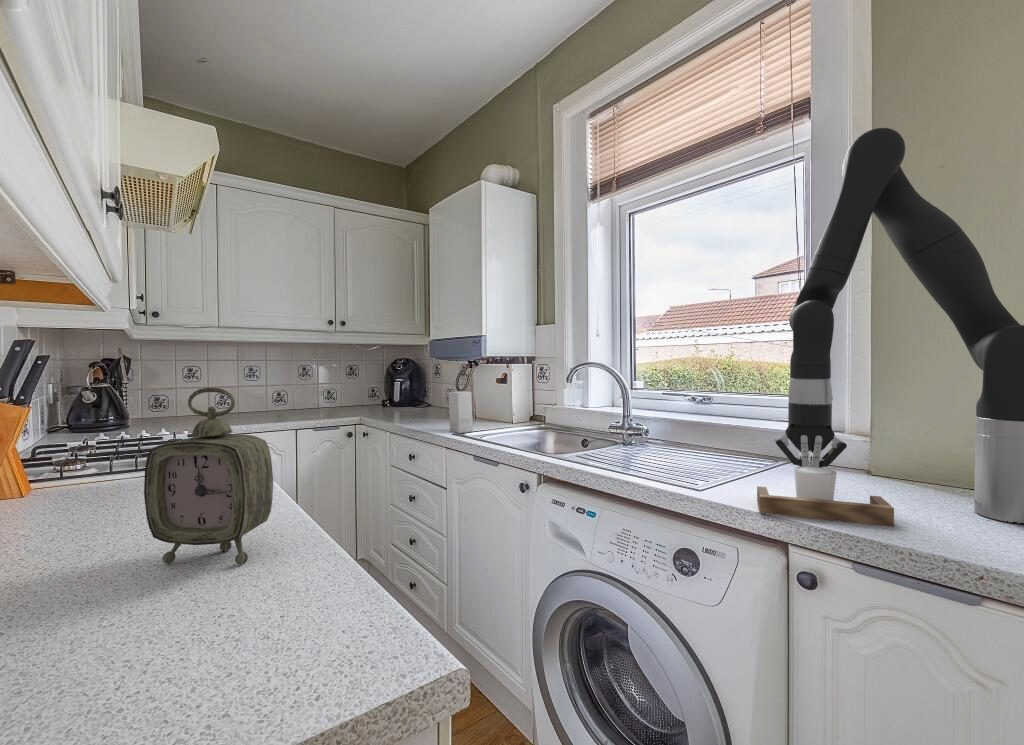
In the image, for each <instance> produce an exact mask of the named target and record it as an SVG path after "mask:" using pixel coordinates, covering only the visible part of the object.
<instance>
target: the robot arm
mask: <svg viewBox="0 0 1024 745" xmlns="http://www.w3.org/2000/svg"><path fill="white" fill-rule="evenodd" d="M905 156H906V144H905V140H904V138H903V136H902V135H901V133H899V132H898V131H896V130H894V129H893V128H889V127H877V128H873V129H869V130H868V131H866V132H864V133H862V134H861V135H860V136H858V137H857V138H856V139H855V140H854V141H853V142H852V143H851V145H850V146H849V148H848V150H847V152H846V153H845V156H844V160H843V162H842V166H841V175H842V178H843V182H842V186H841V189H840V193H839V194H838V195H839V196H838V199H837V201H836V204H835V207H834V210H833V211H832V214H831V216H830V219H829V220H828V224H826V227H825V229H824V231H823V234H822V236H821V238H820V240H819V243H818V245H817V247H816V250H815V252H814V255H813V257H812V261H810V262H811V263H810V266H809V268H808V271H807V273H806V277H805V280H804V284H803V286H802V288H801V290H800V292H799V294H798V296H797V298H796V300H795V303H794V305H793V308H792V309H791V311H790V315H789V318H788V319H789V320H788V322H789V327H790V329H791V330H792V352H791V355H790V362H789V366H790V368H789V370H790V372H789V373H790V374H789V386H788V408H787V410H788V412H787V413H788V414H787V415H788V419H787V421H788V423H787V424H788V425H787V427H786V430H785V434H783V435H781V436H780V437H776V438H775V439H774V443H775V444H776V446H777V447H778V448H779V449H780V450H781V451H782V453H783V454H784V455H785V456H786V457H787V459H788V460H789V461H790V462H791V463H792V465H794V466H797V467H802V466H809V467H820V468H824V467H825V468H827V467H829V466H830V465H831V464H832V463H833V462H834V461H835V460H836V459H837V458H838V456H840V455H841V454H842V452H844V451H845V450H846V449H847V448H848V446H847V443H846V442H844V441H842V440H840V439H839V438H838V437H836V436H835V434H836V433H835V432H834V429H833V427H832V426H833V416H832V415H833V412H832V411H833V401H834V399H833V388H832V379H831V376H832V375H831V374H832V373H831V370H832V364H831V362H832V361H831V349H832V346H833V344H832V343H833V337H834V329H835V326H834V325H835V317H834V316H835V315H834V313H833V312H834V311H833V310H834V309H833V308H834V307H835V304H836V301H837V298H838V297H839V296H838V295H839V294H840V293H841V291H842V290H843V289H844V288H845V286H846V284H847V282H848V279H849V277H850V274H851V272H852V270H853V266H854V265H855V262H856V259H857V257H858V254H859V251H860V248H861V246H862V243H863V239H864V236H865V234H866V230H867V227H868V225H869V223H870V220H871V218H872V215H873V214H874V216H875V218H877V220H878V222H880V224H881V226H882V228H883V230H884V231H885V233H886V234H887V236H888V238H889V239H890V241H891V243H892V244H893V245H894V247H895V248H896V250H897V251H898V253H899V254H900V256H901V258H902V259H903V261H904V262H905V263H906V265H907V266H908V268H909V269H910V270H911V272H912V273H913V275H914V277H915V278H916V279H917V280H918V281H919V282H920V284H921V285H922V286H923V287H924V289H925V290H926V291H927V292H928V294H929V295H930V296H931V297H932V299H933V300H934V301H935V302H936V303H937V304H938V306H939V307H940V308H941V309H942V310H943V311H944V312H945V314H946V315H947V316H948V318H949V319H950V320H951V322H952V324H953V326H954V327H955V328H956V331H957V332H958V334H959V337H961V339H962V341H963V343H964V345H965V347H966V349H967V351H968V353H969V355H970V356H971V358H972V360H973V363H975V365H976V366H977V368H979V369H980V370H981V371H982V387H981V388H982V389H981V393H980V397H979V399H978V400H977V402H976V405H975V406H976V408H975V452H974V454H975V455H974V456H975V457H974V498H973V502H974V512H975V513H976V514H978V515H981V516H983V517H986V518H989V519H994V520H998V521H1003V522H1007V521H1008V523H1013V522H1018V523H1017V524H1020V523H1024V324H1020V322H1018V320H1017V319H1016V318H1015V317H1014V316H1013V315H1012V314H1011V312H1009V311H1008V309H1007V308H1006V307H1005V306H1004V305H1003V303H1002V302H1001V300H1000V299H999V298H998V296H997V294H996V293H995V291H994V287H993V285H992V283H991V279H990V277H989V273H988V270H987V267H986V265H985V262H984V260H983V258H982V256H981V254H980V251H978V249H977V247H976V246H975V244H974V243H973V242H972V241H971V239H970V238H969V237H968V235H967V234H966V233H965V231H964V230H963V229H962V227H961V226H960V225H959V224H958V222H956V221H955V220H954V219H953V218H952V217H951V216H950V215H948V214H946V213H945V212H944V211H942V210H941V209H940V208H939V207H937V206H935V205H933V204H932V203H930V202H929V201H927V200H926V199H925V198H924V197H923V196H921V195H920V193H919V192H917V191H916V189H915V188H914V187H913V185H912V184H911V182H910V180H909V178H907V176H906V174H905V172H904V171H903V168H902V167H901V165H902V163H903V161H904V158H905ZM789 441H790V443H792V444H793V446H794V447H795V448H796V449H797V451H798V455H799V458H798V457H796V456H795V455H794V454H793V452H792V451H791V450H790V449H789V448H788V447H789V445H790V443H789ZM829 444H830V449H828V451H827V452H826V453H825V454H823V456H821V454H822V451H824V450H825V449H826V447H827V446H828V445H829Z"/></svg>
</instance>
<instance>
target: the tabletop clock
mask: <svg viewBox="0 0 1024 745" xmlns="http://www.w3.org/2000/svg"><path fill="white" fill-rule="evenodd" d="M203 393H218V394H219V393H220V394H222V395H225V396H226V397H227V398H228V399H229V400H230V402H231V404H230V407H229V408H226V409H224V410H221V411H217V410H216V407H214V406H209V407H208V408H207V411H203V410H202V411H201V410H199V409H196V408H195V407H194V406H193V403H192V402H193V400H194V398H195V397H197V396H199V395H200V394H203ZM235 401H236V400H235V398H234V396H233V395H232V394H231V393H230V392H229V391H228V390H225V389H224V388H219V387H203V388H199V389H197V390H196V391H193V393H192V394H191V395H189V397H188V400H187V406H188V408H189V410H190V411H191V412H192V413H193V414H195V415H197V416H200V417H206V419H203V420H200V421H199V422H197V423H196V425H195V426H194V427H193V430H192V432H191V437H189V438H184V439H180V440H176V441H171V442H167V443H164V444H159V445H156V446H155V447H152V448H150V449H149V451H148V453H147V454H148V455H147V458H146V462H145V468H144V482H143V483H144V485H143V497H144V498H143V499H144V506H145V515H146V522H147V525H148V529H149V531H150V533H151V534H152V537H153V538H154V539H157V540H158V541H160V542H164V543H168V544H174V545H173V547H172V548H171V551H166V552H165V553H164V554H163V555H162V562H163V563H164V564H166V563H169V564H171V563H173V562H174V561H175V560H176V557H177V556H176V555H177V554H176V552H177V550H178V549H179V548H180V546H181V545H186V546H187V545H189V546H205V545H207V546H208V545H219V550H220V551H221V552H223V551H226V552H229V550H231V549H232V542H233V541H234V544H235V548H236V551H237V554H236V556H235V558H234V561H235V563H236V564H238V565H244V564H245V563H247V561H248V559H249V556H248V554H247V552H244V551H243V542H242V541H243V540H242V539H243V536H244V535H246V534H247V533H249V532H251V531H252V530H254V529H256V528H259V526H261V525H262V524H264V523H267V521H268V519H269V517H270V514H271V512H272V511H271V510H272V505H273V499H274V498H273V495H274V476H273V475H274V474H273V465H272V457H271V455H272V454H271V451H270V448H269V446H268V443H267V441H266V440H265V439H263V438H260V437H258V436H257V435H256V436H255V435H250V434H242V433H241V434H238V433H233V431H232V427H231V425H230V424H229V423H228V422H227V421H226V420H225V419H222V418H217V417H222V416H225V415H228V414H230V413H231V412H232V411H233V410H234V407H235V405H236V402H235Z"/></svg>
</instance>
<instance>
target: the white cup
mask: <svg viewBox="0 0 1024 745" xmlns="http://www.w3.org/2000/svg"><path fill="white" fill-rule="evenodd" d="M793 472H794V482H795V493H796V497H797V498H808V499H820V500H831V501H834V498H835V491H836V482H837V474H838V473H837V471H835V470H833V469H830V468H827V467H825V468H824V467H821V468H820V467H810V465H809V466H802V467H800V466H795V467H794V468H793Z"/></svg>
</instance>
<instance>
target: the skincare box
mask: <svg viewBox="0 0 1024 745" xmlns="http://www.w3.org/2000/svg"><path fill="white" fill-rule="evenodd" d="M472 394H473V393H472V391H461V390H460V391H450V392H448V406H449V407H448V410H449V431H450V432H453V433H458V434H464V433H473V432H474V425H473V424H474V423H473V422H474V420H473V419H474V418H473V399H472V398H473V397H472Z"/></svg>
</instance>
